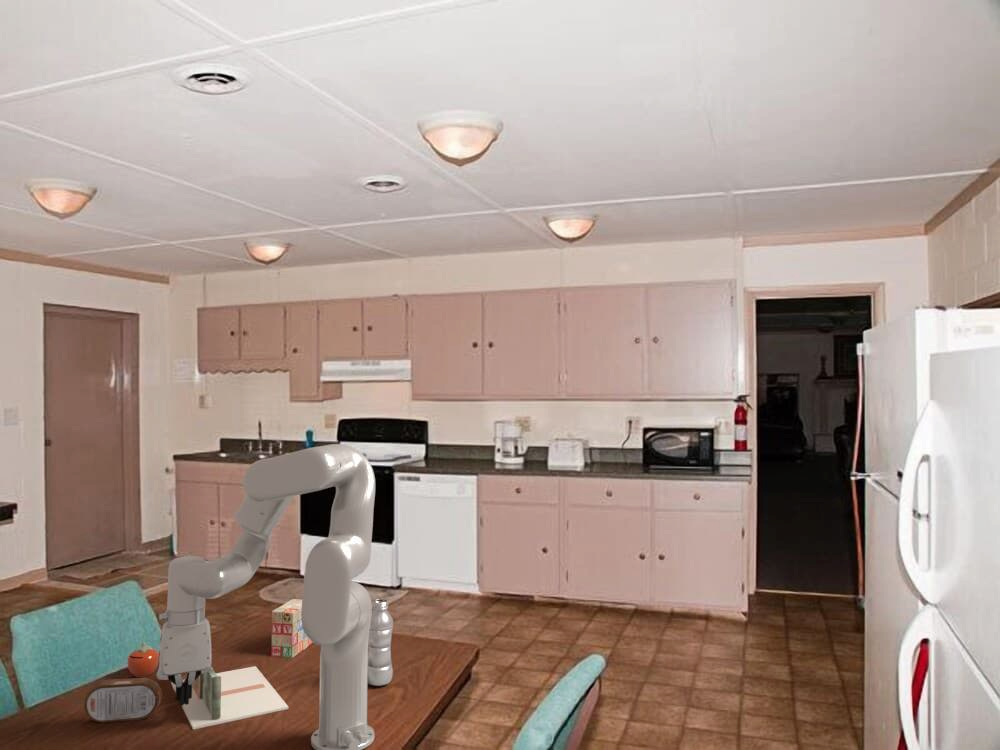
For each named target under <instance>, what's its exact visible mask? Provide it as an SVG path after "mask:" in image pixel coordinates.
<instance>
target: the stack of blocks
mask: <svg viewBox="0 0 1000 750" xmlns="http://www.w3.org/2000/svg"><path fill="white" fill-rule="evenodd" d="M301 610H302V599H298V598H297V599H296V598H292V599H290V600H289V601H287V602H286V603H284V604H283V605H281V606H279V607H277V608H274V610H272V611H271V647H270V648H271V649H270V650H271V651H270V653H271V655H270V656H271V657H279V658H288V659H289V658H292V659H293V658H294V657H295V656H297V655H298V654H301V652H302V650H303V651H304V650H306V649H307V648H308V647H309V646H310V645H312V644H313V642H312V641H310V640H309V638H308V637H307V636H306V634H305V632H304V630H303V627H302V621H301Z"/></svg>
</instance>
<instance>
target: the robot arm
mask: <svg viewBox="0 0 1000 750" xmlns="http://www.w3.org/2000/svg"><path fill="white" fill-rule="evenodd" d="M242 487H243V488H242V489H243V491H244V493H245V495H246V496H245V498H244V499H243V500H242V502H241V504H240V505H239V507H238V508H237V510H236V511H235V514H234V518H235V521H236V523H237V525H238V526H239V527H240V528H241V533H240V535H239V536H238V539H237V541H236V542H235V544H234V545H233V547H232V548H231V549H230V551H229V553H228V554H227V555H224V556H221V557H219V558H215V559H213V560H210V561H207V562H206V559H205V558H203V557H201V556H195V555H187V556H186V555H185V556H180V557H176V558H174V559H172V560H171V561H170V562H169V564H168V572H167V573H168V574H167V605H166V610H165V612H163V613H159V616H158V618H159V621H165V623H163V625H162V628H161V634H160V638H159V639H160V640H159V649H158V652H159V657H158V666H157V667H158V669H157V673H156V677H157V679H158V680H160V681H161V680H162V681H163V680H164V681H167V680H168V681H170V683H171V682H172V683H174V684H175V685H176V693H175V701H176V702H178V703H179V706H180V707H182V705H184V704H186V705H187V704H189V699H190V698H192V684H193V683H194V681H195V680H196V679H197V678H198V677H199V676H200V674H203V673H206V672H208V671H210V670H211V667H212V660H213V659H212V656H213V655H212V635H211V625H210V621H209V620H208V619H207V618H206V617H205V616H206V600H208V599H209V600H212V599H214V600H215V599H217V598H220V597H222V596H224V595H226V594H228V593H231V592H233V591H235V590H237V589H240V588H241V587H243V586H245V585H246V584H247V583H248V582H249V581H250V580H251V579H252V578H253V577H254V575H255V573H256V571H257V570H258V569H259V568H260V565H261V564H262V562H263V561H264V559H265V557H266V555H267V554H268V551H269V549H270V545H271V541H272V534H273V531H274V530H275V528H276V526H277V525H278V523H279V522H280V519H281V518H282V516H283V515H284V513H285V511H286V510H287V508H288V507H289V505H290V504H291V502H292V501H293V500H294V498H295V497H296V496H301V495H303V494H304V495H305V494H309V493H313V492H318V491H322V490H325V489H328V488H332V487H335V495H334V498H333V503H332V506H331V511H330V523H329V524H330V526H329V532H328V536H327V537H326V538H324V539H321V540H320V541H318V542H317V543H316V544H315V545H314V546H313V547H312V549H311V550H310V552H309V553H308V556H307V557H306V558H307V559H306V562H305V567H304V575H303V588H302V599H301V600H302V610H301V621H302V627H303V630H304V632H305V634H306V636H307V637H308V638H309V640H310V641H312V642H313V643H314V644H315V645H318V646H320V651H319V653H320V654H319V659H320V660H319V704H318V705H319V706H318V707H319V708H318V709H319V714H318V715H319V716H318V718H319V720H318V721H319V722H318V728H317V729H316V730H315V731H314V732H313V733H312V735H311V737H310V743H311V747H312V748H313V749H314V750H364V749H366V748H368V747H369V746H370V745H371V744H373V742H374V740H375V731H374V728H373V727H371V726H370V725H368V682H367V668H368V654H369V641H368V639H369V629H370V622H371V615H372V612H373V609H372V607H373V602H372V599H371V596H370V593H369V591H368V589H366V588H365V587H364V586H363V585H362V584H360V583H358V582H355V581H352V580H354V579H355V578H357V577H358V576H360V575H361V574H363V573H364V572H365V570H366V569H367V568H368V567H369V564H370V563H371V562H370V561H371V556H372V554H371V553H372V539H373V527H374V524H373V523H374V507H375V500H376V499H375V497H376V477H375V472H374V469H373V467H372V465H371V463H370V461H369V460H368V458H367V456H365V455H364V454H363V453H362V452H360V450H358V449H356V448H355V447H354V446H353V447H352V446H350V445H347V444H343V443H342V444H341V443H332V444H331V443H330V444H325V445H320V446H313V447H307V448H303V449H300V450H297V451H293V452H292V451H291V452H289V453H285V454H284V453H283V454H280V455H277V456H273V457H267V458H263V459H258V460H256V461H255V462H253V463H252V464H250V466H248V468H247V469H246V470H245V472H244V475H243V478H242ZM313 643H312V644H313ZM182 674H186V676H185V678H184V679H185V681H184V682H183V681H182V680H183V678H182Z"/></svg>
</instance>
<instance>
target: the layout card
mask: <svg viewBox="0 0 1000 750" xmlns="http://www.w3.org/2000/svg"><path fill="white" fill-rule="evenodd" d="M215 673H216V672H215ZM216 674H217V676H220V677H221V717H220V718H218V719H212V715H211V713H210V711H209V710H208V708H207V706H206V704H205V702H204V701H203V699H200V694H199V692H198V690H197V688H196V687H195V685H194V683H193V684H192V698H190V699H189V704H187V705H186V704H184V705H182V706H181V707H182V709H183V712H184V714H185V716H186V717H187V720H188V722H189V725H190V727H191V729H192V730H198V729H202V728H206V727H207V728H208V727H211V726H215V725H221V724H225V723H230V722H234V721H238V720H239V721H240V720H244V719H247V718H253V717H256V716H257V717H258V716H261V715H267V714H271V713H277V712H280V711H285V710H289V706H288V704H287V703H286V702H285V701H284V699H283V698H282V697H281V695H280V694H279V693H278V692H277V691H276V690H275V688H274V687H273V686H272V684H271V683H270V682H269V681H268V679H266V677H265V676H264V675H263V673H262V672H261V671H260V670H259V669H258V667H257V666H255V665H254V666H250V667H244V668H239V669H238V668H237V669H232V670H228V671H222V672H217V673H216ZM185 679H186V678H184V679H183V678H182V681H183V682H184V681H185ZM170 684H171V686H172V689H173V691H174V693H175V694H176V685H175V684H174V683H172V682H171V681H170Z"/></svg>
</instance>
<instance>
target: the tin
mask: <svg viewBox="0 0 1000 750" xmlns="http://www.w3.org/2000/svg"><path fill="white" fill-rule="evenodd" d="M162 695H163V693H162V689H161V687H160V686H159V684H158V683H157V682H156V681H155V680H154V679H151V678H147V677H135V678H121V679H119V678H117V679H105V680H100V681H98V682H97V683H95V684H94V685H93V686H92V687H90V689H89V691H88V692H87V694H86V695H85V698H84V704H83V707H84V708H83V709H84V711H85V714H86V715H87V717H89V718H90V720H92V721H93V722H98V723H113V722H115V723H116V722H124V721H125V722H127V721H139V720H145V719H146V718H148V717H150V716H152V714H154V713H155V711H156V710H157V709H158V706H160V704H161V701H162Z"/></svg>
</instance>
